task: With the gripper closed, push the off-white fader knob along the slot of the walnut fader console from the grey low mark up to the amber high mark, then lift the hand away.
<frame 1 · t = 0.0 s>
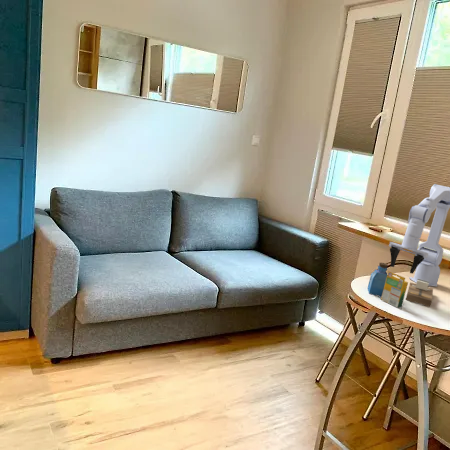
hand: (401, 269, 178), 11 cm above the table, tool pointing down, fingers open, 7 cm apart
crayon box: (390, 303, 170), on the table
fader console: (418, 297, 183), on the table
perfume bottle: (376, 293, 180), on the table
fader knob: (422, 284, 186), point 5 cm above the table, slide at -4.0 cm
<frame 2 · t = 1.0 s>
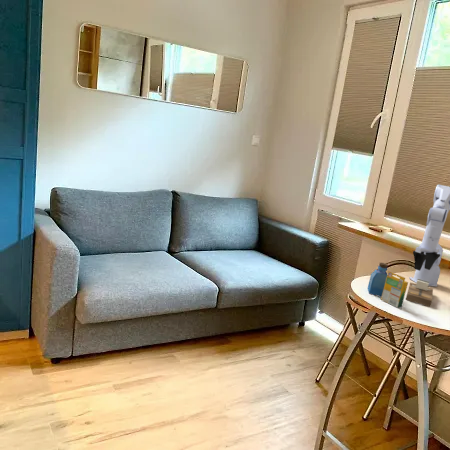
hand: (422, 269, 186), 10 cm above the table, tool pointing down, fingers open, 7 cm apart
nothing on the table moved.
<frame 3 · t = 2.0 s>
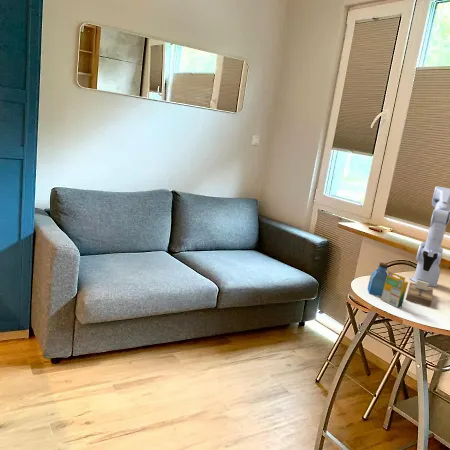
hand: (425, 269, 190), 9 cm above the table, tool pointing down, fingers closed
nothing on the table moved.
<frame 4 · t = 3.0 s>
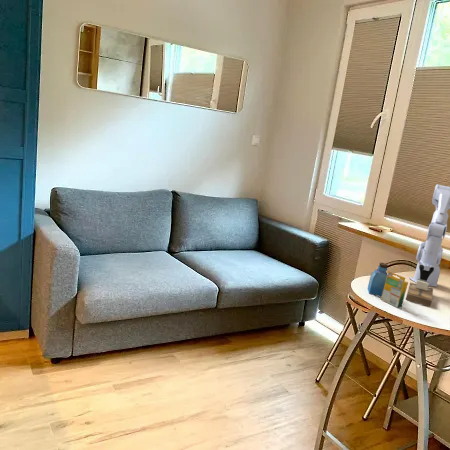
hand: (422, 283, 191), 4 cm above the table, tool pointing down, fingers closed
nothing on the table moved.
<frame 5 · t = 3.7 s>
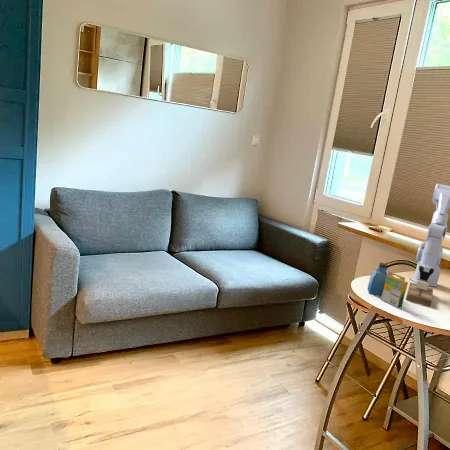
hand: (422, 284, 188), 4 cm above the table, tool pointing down, fingers closed
fader knob: (422, 284, 186), point 5 cm above the table, slide at -4.0 cm, touching gripper
everything else where it was.
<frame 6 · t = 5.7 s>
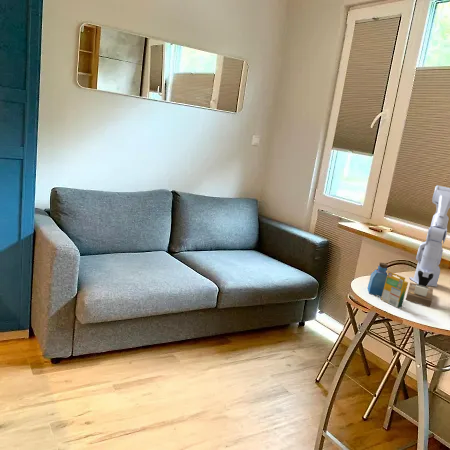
hand: (421, 290, 181), 4 cm above the table, tool pointing down, fingers closed
fader knob: (421, 289, 178), point 5 cm above the table, slide at 4.8 cm, touching gripper
everything else where it was.
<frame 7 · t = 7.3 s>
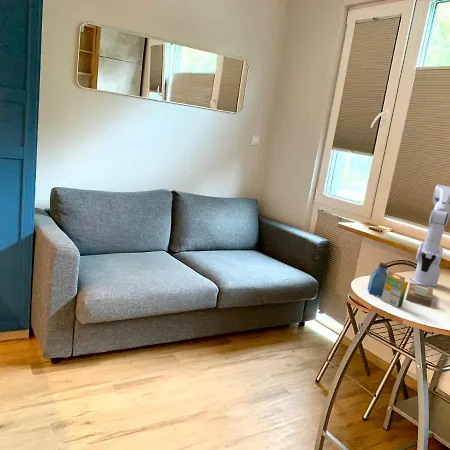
hand: (424, 271, 187), 9 cm above the table, tool pointing down, fingers closed
fader knob: (421, 289, 178), point 5 cm above the table, slide at 4.8 cm
everything else where it was.
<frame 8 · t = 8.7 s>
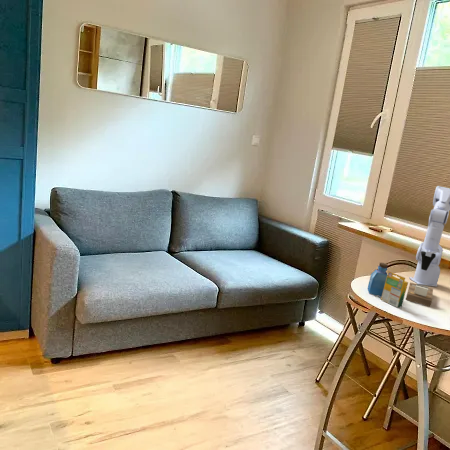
hand: (423, 269, 189), 9 cm above the table, tool pointing down, fingers closed
nothing on the table moved.
at the end: fader knob slide at 4.8 cm; perfume bottle moved 0.3 cm from its start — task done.
